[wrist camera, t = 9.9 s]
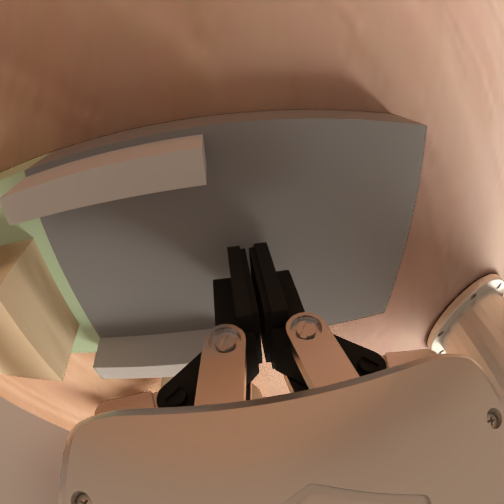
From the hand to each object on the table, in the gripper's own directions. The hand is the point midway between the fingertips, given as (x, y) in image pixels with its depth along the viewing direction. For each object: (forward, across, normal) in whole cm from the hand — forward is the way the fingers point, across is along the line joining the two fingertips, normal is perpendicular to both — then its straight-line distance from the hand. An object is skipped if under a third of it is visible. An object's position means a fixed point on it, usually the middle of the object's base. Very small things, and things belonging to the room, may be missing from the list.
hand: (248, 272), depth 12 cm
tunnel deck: (+4, +7, 0) cm, 8 cm away
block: (+1, +13, 0) cm, 13 cm away
